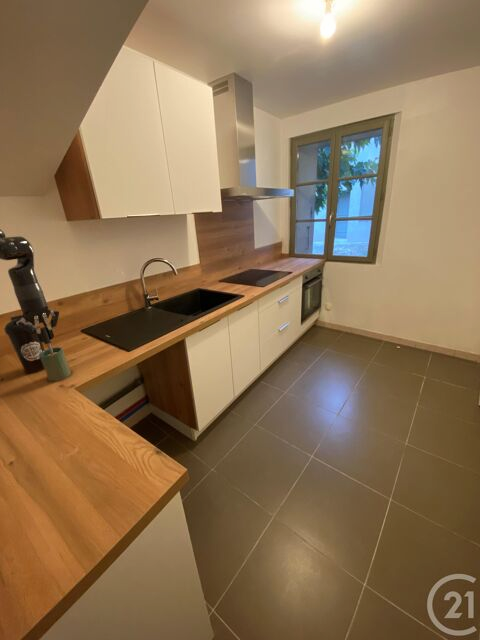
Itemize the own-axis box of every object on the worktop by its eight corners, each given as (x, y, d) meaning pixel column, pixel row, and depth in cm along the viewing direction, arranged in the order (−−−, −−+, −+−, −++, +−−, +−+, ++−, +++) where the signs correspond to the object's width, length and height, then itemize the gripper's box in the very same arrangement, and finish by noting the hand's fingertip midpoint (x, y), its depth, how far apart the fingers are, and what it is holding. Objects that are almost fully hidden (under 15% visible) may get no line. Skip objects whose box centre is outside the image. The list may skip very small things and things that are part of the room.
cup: (45, 383, 100) (35, 358, 96) (52, 373, 106) (43, 349, 102) (67, 379, 101) (58, 354, 97) (73, 369, 108) (65, 345, 104)
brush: (49, 368, 100) (35, 330, 94) (53, 364, 103) (39, 327, 97) (59, 366, 101) (46, 329, 95) (62, 362, 104) (49, 325, 98)
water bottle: (25, 377, 105) (2, 324, 96) (20, 368, 111) (-2, 318, 103) (54, 366, 111) (35, 316, 103) (48, 359, 118) (30, 311, 109)
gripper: (47, 290, 99) (61, 331, 105) (2, 300, 89) (21, 346, 95) (56, 292, 95) (71, 335, 102) (10, 303, 85) (29, 350, 91)
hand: (46, 340), depth 98 cm, fingers closed on brush, 2 cm apart
